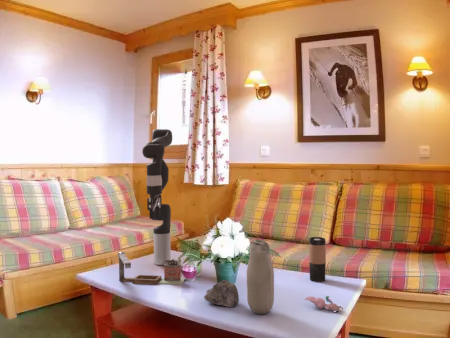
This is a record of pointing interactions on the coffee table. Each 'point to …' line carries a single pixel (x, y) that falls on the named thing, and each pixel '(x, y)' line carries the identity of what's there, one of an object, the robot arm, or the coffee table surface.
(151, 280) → the dock
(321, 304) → the pink elongated figure
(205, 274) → the coffee table surface
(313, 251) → the travel mug
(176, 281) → the pad
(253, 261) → the brown clay vase
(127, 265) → the grey bar
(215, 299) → the mineral rock
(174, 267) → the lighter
